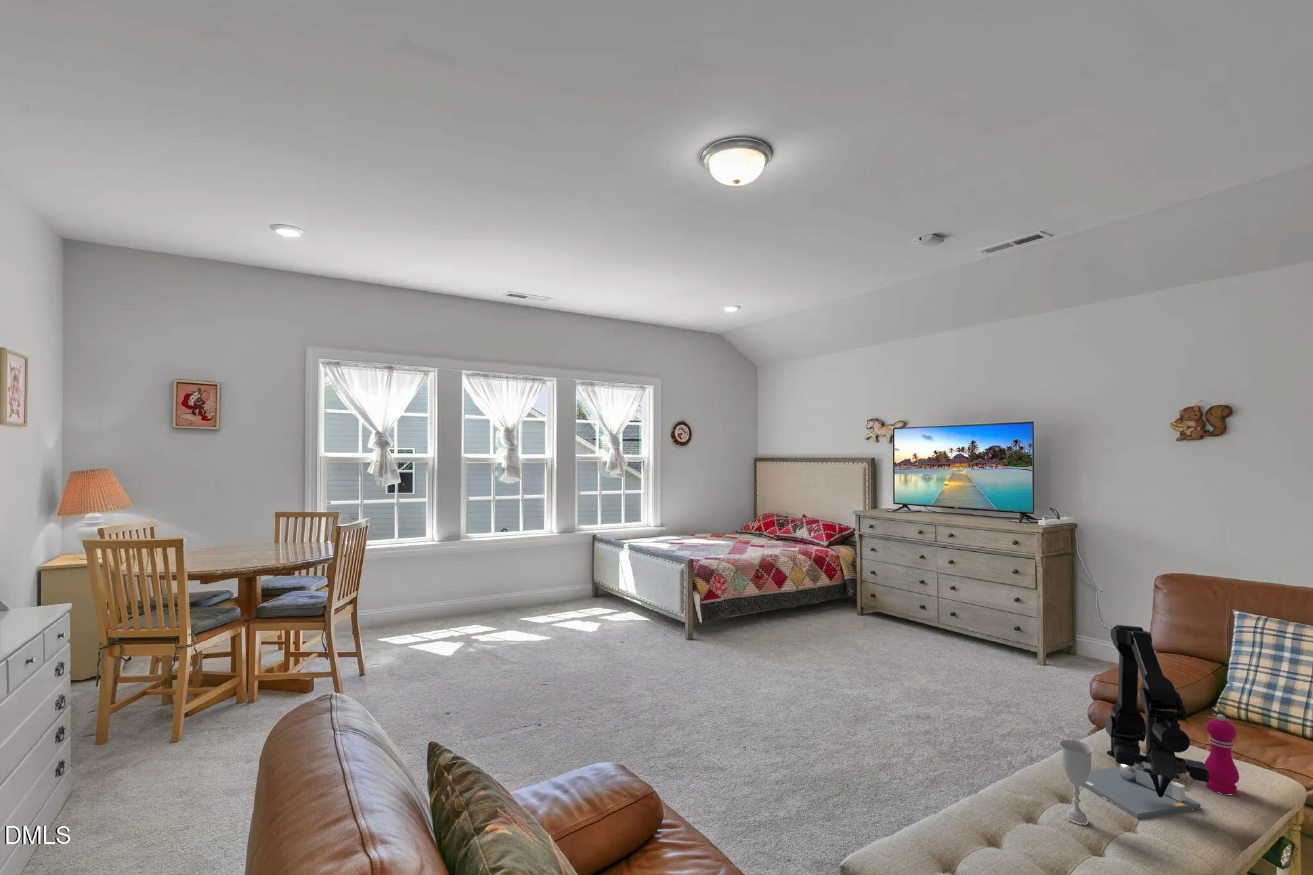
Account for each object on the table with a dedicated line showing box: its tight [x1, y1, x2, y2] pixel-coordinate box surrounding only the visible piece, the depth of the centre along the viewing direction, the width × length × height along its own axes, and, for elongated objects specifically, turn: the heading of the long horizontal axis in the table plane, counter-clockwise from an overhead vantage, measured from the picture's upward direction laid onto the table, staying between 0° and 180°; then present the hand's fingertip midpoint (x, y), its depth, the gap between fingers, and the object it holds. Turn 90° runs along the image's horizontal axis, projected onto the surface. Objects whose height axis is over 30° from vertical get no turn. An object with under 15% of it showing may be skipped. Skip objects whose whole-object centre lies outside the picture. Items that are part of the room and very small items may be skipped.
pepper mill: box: [1204, 714, 1240, 795], centre depth 174 cm, size 7×7×20 cm
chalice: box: [1059, 739, 1094, 824], centre depth 160 cm, size 7×7×18 cm
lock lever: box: [1119, 762, 1186, 802], centre depth 173 cm, size 15×4×4 cm, turn 25°
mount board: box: [1081, 766, 1202, 820], centre depth 173 cm, size 20×20×1 cm
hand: (1159, 796), depth 166 cm, fingers closed
